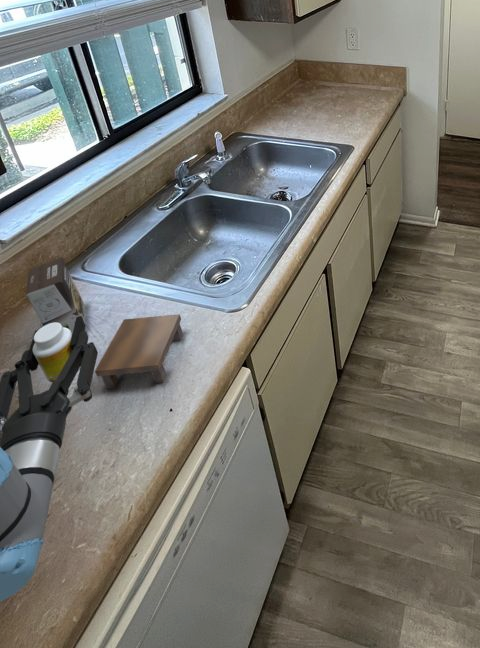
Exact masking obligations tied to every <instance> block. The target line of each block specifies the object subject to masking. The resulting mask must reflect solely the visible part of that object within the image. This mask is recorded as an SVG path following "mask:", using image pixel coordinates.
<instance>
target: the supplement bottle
mask: <svg viewBox="0 0 480 648" xmlns="http://www.w3.org/2000/svg"><path fill="white" fill-rule="evenodd" d="M37 330H38V331H37V332H36V334H35V335H34V334H33V336H34V341H35V344H34V346H33V354H34V356H35V358H36V359H37V361H38V363H39V364H38V366H39V367H40V369H41V371H42V372H43V375H44V377H45V378H46V380H47V381H48V382H49V383H51V384H52V383H53V382H54V381H56V379H57V378H58V376H59V374H60V372H61V370H62V369H63V367H64V365H65V363H66V361H67V360H68V358H69V356H70V354H71V353H72V349H71V347H70V343H71V339H72V333H71V331H70V330H69V329H68V328H64V327H62V325H61V324H60V323H56V322H55V323H50V324H47V325H45V326H43V325H42V327H40V328H39V329H37ZM80 367H81V366H80ZM79 371H80V368H79V370H78V372H79Z"/></svg>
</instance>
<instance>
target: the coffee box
mask: <svg viewBox="0 0 480 648" xmlns="http://www.w3.org/2000/svg"><path fill="white" fill-rule="evenodd" d="M25 293H26V294H25V295H26V296H27V298H28V300H29V302H30V304H31V306H32V308H33V310H34V312H35V314H36V316H37V318H38V319H39V321H40V323H41V325H42V327H43V326H45V325H47V324H50V323H55V322H56V323H60V324H61V325H62V327H64V328H68V329H69V330H70V331H71V333H72V334H73V330H74V326H75V321H76V317H79V316H81V317H82V319H83V321H84V323H85V324H86V305H85V302H84V300H83V298H82V296H81V294H80V292H79V289H78V287H77V285H76V283H75V281H74V278H73V277H72V274H71V273H70V269H68V266H67V264H66V262H65V259H64V257H63V256H62V257H58V258H55V259H52V260H50V261H47V262H45V263H42V264H40V265H37V266H34V267H31V268H29V270H28V276H27V284H26V292H25Z"/></svg>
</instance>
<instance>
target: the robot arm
mask: <svg viewBox="0 0 480 648" xmlns="http://www.w3.org/2000/svg"><path fill="white" fill-rule="evenodd" d="M86 327H87V325H86V322H85V323H84V321H83V319H82V317H81V316H79V317H76V321H75V326H74V330H73V334H72V339H71V343H70V347H71V349H72V353H71V354H70V356H69V358H68V360H67V361H66V363H65V365H64V367H63V369H62V370H61V372H60V374H59V376H58V378H57V379H56V381H54V382H53V383H51V384H50V386H49V388H48V389H47V390H45V391H43V392H40V393H37V394H34V389H33V381H32V374H31V372H34V371H36V370H37V371H38V367H39V363H38V361H37V359H36V358H35V356H34V354H33V346H34V344H35V341H34V335H35V334H36V332H37V331H38V330H39V329H36V330H35V331H34V332H33V337H32V340H31V342H30V346H29V349H26V350H24V352H23V353H22V354H21V359H20V360H19V361H17V362H16V363H14V368H15V369H14V370H12V371H11V370H8V371H6V372H4V373H2V375H1V377H0V434H2V435H1V437H0V603H1V602H3V601H5V600H7V599H9V598H11V597H12V596H14V595H15V594H17V593H18V592H19V591H21V590H22V589H23V588H24V587H26V585H27V584H28V583H29V581H30V580H31V579H32V577H33V575H34V573H35V571H36V569H37V565H38V560H39V557H40V552H41V549H42V546H43V544H44V542H45V538H44V536H45V531H46V525H47V519H48V514H49V509H50V503H51V499H52V498H51V497H52V493H53V488H54V483H55V479H56V473H57V469H58V463H59V459H60V453H61V448H62V445H63V439H64V435H65V429H66V425H67V424H66V423H67V417H68V415H69V414H70V412H71V411H72V409H73V407H74V406H75V405H77V404H80V402H82V401H83V402H84V403H87V402H89V401H91V400H92V398H93V393H92V390H91V386H92V382H93V378H94V373H95V369H96V364H97V358H98V354H99V351H98V349H97V347H96V345H95V343H94V342H93V341H91V342H89V338H90V337H89V334H88V333H87V330H86ZM80 366H81V367H80ZM79 368H80V370H79ZM78 370H79V371H78ZM77 374H78V376H77ZM76 376H77V380H76V386H75V387H74V388H73V392H72V395H71V396H70V397H68V395H69V391H70V387H71V385H72V383H73V381H74V380H75V378H76ZM16 386H17V388H18V396H17V399H18V408H17V409H16V410H15V411H13V413H12V414H11V415H10V416H9V412H10V410H11V409H10V408H11V404H12V401H13V398H14V394H15V389H16ZM8 416H9V417H8Z"/></svg>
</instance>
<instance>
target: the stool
mask: <svg viewBox="0 0 480 648" xmlns="http://www.w3.org/2000/svg"><path fill="white" fill-rule="evenodd" d="M181 320H182V317H181V314H180V313H178V314H169V315H168V314H167V315H157V316H147V317H136V318H124V319H123V320H122V322H121V324H120V325H119V327H118V328H117V331H116V332H115V334H114V336H113V338H112V340H111V341H110V343H109V345H108V347H107V349H106V351H105V352H104V354H103V356H102V358H101V359H100V360H99V363H98V365H97V367H95V369H94V373H95V375H96V376H97V377H101V379H102V381H103V383H104V385H105V387H106V389H111V388H112V389H113V388H116V386H117V384H118V382H119V381H120V379H119V377H118V375H126V374H134V373H135V374H136V373H146V372H150V373H151V374H152V375H151V376H152V377H153V379H154V382H155V384H161V383H162V384H163V383H165V382H166V381H165V380H166V379H167V375H168V374H167V372H166V370H165V366H164V364H163V363H164V362H165V359H166V356H167V354H168V351H169V349H170V347H171V345H172V343H173V342H177V341H178V342H179V341H181V340H182V339H183V336H184V332H183V329H182V326H181Z"/></svg>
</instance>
